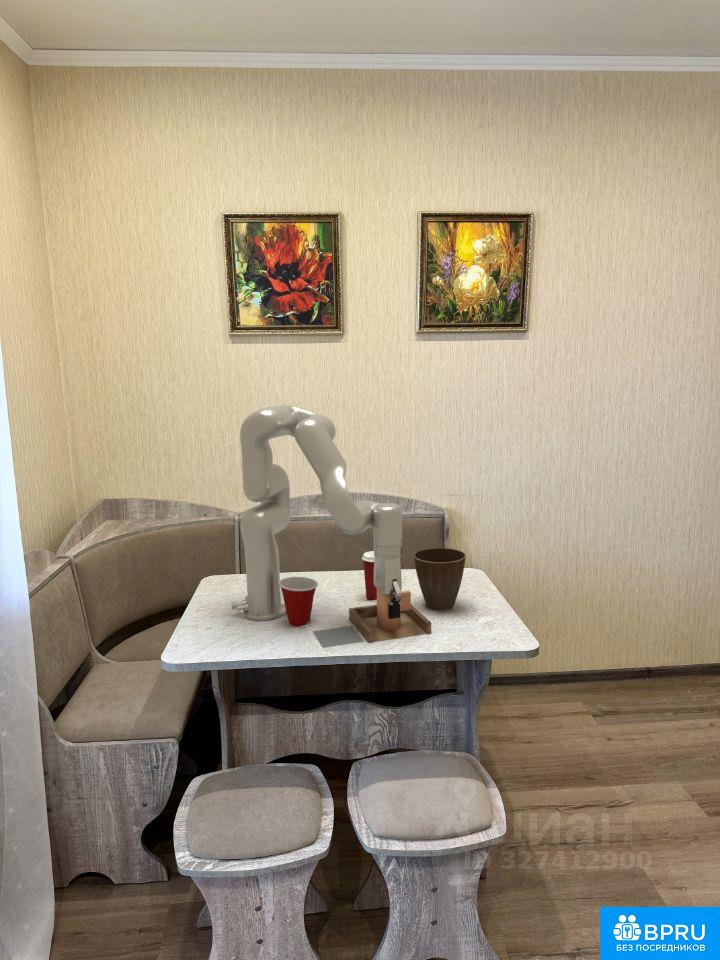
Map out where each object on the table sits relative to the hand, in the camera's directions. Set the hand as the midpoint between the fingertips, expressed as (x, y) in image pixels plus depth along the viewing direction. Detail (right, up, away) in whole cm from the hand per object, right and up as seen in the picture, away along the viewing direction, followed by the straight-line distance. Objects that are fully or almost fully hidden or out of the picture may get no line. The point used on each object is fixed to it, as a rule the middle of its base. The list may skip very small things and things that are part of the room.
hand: (388, 612), depth 184 cm
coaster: (-14, -6, -5) cm, 16 cm away
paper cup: (-3, 0, +24) cm, 24 cm away
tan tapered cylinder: (+1, -4, +1) cm, 4 cm away
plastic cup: (-25, -4, +6) cm, 25 cm away
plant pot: (+15, -2, +15) cm, 22 cm away
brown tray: (0, -4, +1) cm, 4 cm away
